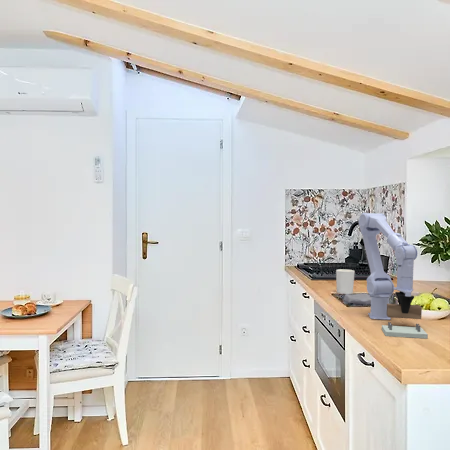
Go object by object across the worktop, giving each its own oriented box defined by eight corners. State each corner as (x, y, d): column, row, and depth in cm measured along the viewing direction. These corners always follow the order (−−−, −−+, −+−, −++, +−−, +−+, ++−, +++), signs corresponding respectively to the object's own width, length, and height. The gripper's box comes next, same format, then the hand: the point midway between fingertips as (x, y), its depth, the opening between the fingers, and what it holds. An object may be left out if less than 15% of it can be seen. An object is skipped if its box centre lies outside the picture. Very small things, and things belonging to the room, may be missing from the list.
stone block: (373, 308, 227) (366, 300, 237) (374, 299, 226) (367, 291, 236) (349, 309, 227) (343, 301, 236) (349, 299, 225) (343, 291, 235)
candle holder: (331, 292, 257) (332, 270, 257) (341, 290, 265) (341, 268, 264) (348, 295, 251) (349, 272, 250) (357, 292, 258) (358, 270, 258)
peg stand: (381, 329, 180) (381, 319, 179) (421, 331, 177) (421, 322, 177) (385, 336, 170) (386, 326, 170) (427, 338, 167) (427, 328, 167)
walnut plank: (386, 315, 187) (386, 303, 187) (418, 316, 185) (419, 305, 185) (388, 317, 183) (388, 305, 183) (421, 319, 181) (421, 307, 181)
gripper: (391, 273, 192) (389, 307, 192) (397, 279, 177) (396, 315, 178) (409, 274, 190) (408, 308, 191) (417, 279, 176) (416, 316, 177)
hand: (403, 312), depth 184 cm, fingers closed on walnut plank, 4 cm apart
